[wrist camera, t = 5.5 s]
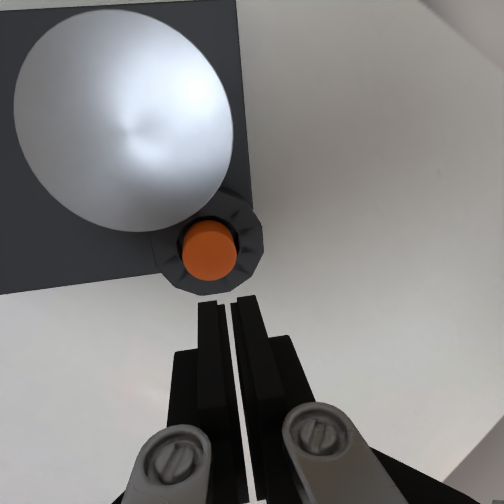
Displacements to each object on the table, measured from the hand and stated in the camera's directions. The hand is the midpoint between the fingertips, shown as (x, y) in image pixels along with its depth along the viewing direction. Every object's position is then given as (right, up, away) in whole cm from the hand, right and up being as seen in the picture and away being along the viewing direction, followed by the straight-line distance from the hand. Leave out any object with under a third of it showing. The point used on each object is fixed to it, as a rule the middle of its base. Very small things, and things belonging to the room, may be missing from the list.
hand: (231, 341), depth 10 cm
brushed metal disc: (-4, +8, +4) cm, 10 cm away
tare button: (-2, +3, +7) cm, 8 cm away
